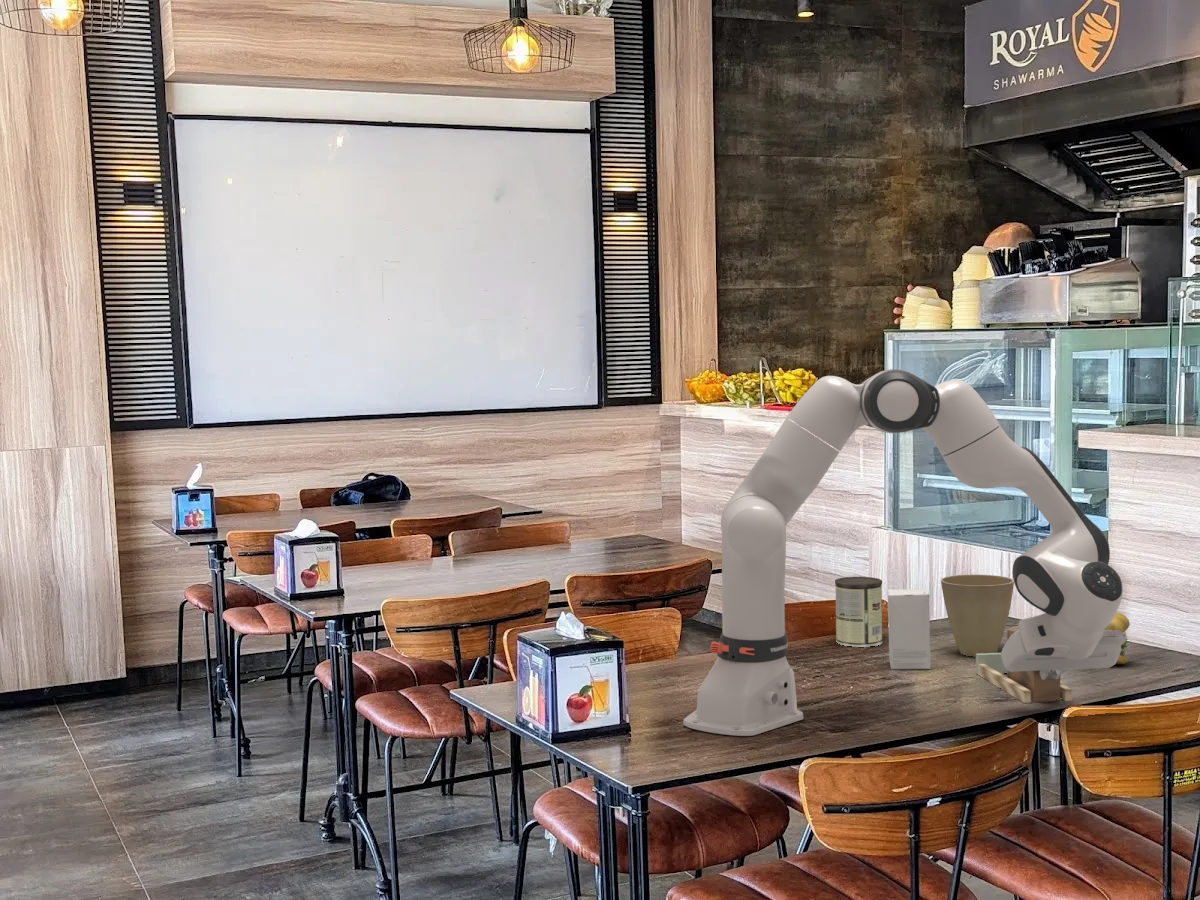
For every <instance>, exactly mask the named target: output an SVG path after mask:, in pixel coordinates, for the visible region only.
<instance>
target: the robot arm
mask: <svg viewBox="0 0 1200 900" xmlns="http://www.w3.org/2000/svg"><path fill="white" fill-rule="evenodd" d="M863 426H866V427H869V428H873V429H875V430H877V431H879V432H882V433H885V434H900V433H906V432H909V431H910V432H911V431H914V430H918V429H919V430H920V429H921V430H923V431H924V432H925V433H927V435H928V436H929V437H930V438H931V439H932V441H933V443H934V444H935V446H936V448H937V450H938V451H939V453H940V455H941V457H942V458H943V460H944V462H945V464H946V465H947V467H948V469H949V471H950V472H951V473H952V475H953V476H954V477H955V478H956V479H957V480H958V481H959V482H960V483H962V484H964V485H966V486H969V487H972V488H976V489H984V490H985V489H986V490H987V489H995V488H1002V487H1012V488H1016V489H1019V490H1021V491H1022V492H1023V493H1024V494H1025V495H1026V496H1027V497H1028V498H1029V499H1030V500H1031V502H1032V503H1033V505H1034V506H1035V507H1036V508H1037V510H1038V511H1039V512H1040V513H1041V515H1042V516H1043V517H1044V519H1045V520H1046V521H1047V523H1049V526H1050V528H1051V534H1050V535H1048V536H1047V537H1045V538H1044V539H1042V540H1041V541H1040V542H1038V543H1036V544H1035V545H1033V546H1031V547H1030V548H1028V549H1027V550H1026V551H1025V552H1024V553H1022V554H1020V555H1019V556H1018V557H1016V558H1015V560H1014V561H1013V564H1012V579H1013V580H1014V586H1015V588H1016V591H1017V592H1018V593H1019V595H1020V596H1021V597H1022V598H1023V599H1024V600H1025V601H1026V602H1028V604H1030V605H1032V606H1033V607H1034V608H1035V609H1038V610H1040V611H1042V612H1043V613H1042V614H1039V615H1036V616H1035V615H1034V616H1031V617H1027V618H1022V619H1020V620H1019V622H1018V623H1017V626H1018V627H1017V629H1019V630H1018V631H1016V632H1014V633H1013V634H1012V635H1011V636H1010V637H1009V639H1008V640H1007V639H1006V641H1005V643H1004V646H1003V647H1002V650H1001V652H1000V653H1001V657H1002V661H1003V664H1004V667H1005V668H1006V669H1007V670H1008V671H1009V672H1014V671H1039V670H1040V676H1041V679H1042V680H1047V679H1058V678H1059V676H1060V677H1061V676H1062V675H1063V674H1066V673H1067V672H1069V671H1070V670H1084V669H1085V670H1086V669H1087V670H1088V669H1089V670H1090V669H1109V668H1111V667H1113V666H1114V665H1117V664H1116V662H1117V660H1118V657H1119V655H1120V652H1121V651H1122V649H1121V645H1122V644H1124V642H1125V641H1126V639H1127V640H1128V637H1127V633H1126V632H1125V633H1126V634H1125V633H1124V632H1121V631H1120V630H1113V631H1112V630H1105V628H1106V627H1107V626H1108V625H1109V624H1110V623H1111V621H1112V619H1113V618H1114V616H1115V614H1116V612H1117V611H1118V609H1119V607H1120V605H1121V602H1122V598H1123V595H1124V594H1123V592H1124V591H1123V590H1124V587H1123V582H1122V579H1121V576H1120V575H1119V573H1118V572H1117V570H1115V569H1114V568H1113V567H1112V566H1110V565H1109V562H1110V559H1111V558H1110V555H1111V553H1110V551H1111V550H1110V543H1109V541H1108V539H1107V537H1106V535H1105V533H1104V532H1103V531H1102V529H1100V528H1099V526H1097V525H1096V524H1095V523H1094V522H1093V521H1092V520H1091V519H1090V518H1089V517H1088V516H1087V515H1086V514H1085V513H1084V512H1083V511H1082V509H1081V508H1080V507H1079V506H1078V504H1076V502H1075V501H1074V499H1073V498H1072V497H1071V496H1070V495H1069V493H1068V492H1067V491H1066V490H1065V487H1064V486H1063V485H1062V484H1061V483H1060V481H1058V479H1057V478H1056V477H1055V476H1054V474H1053V473H1052V471H1051V470H1050V469H1049V468H1048V467H1047V466H1046V464H1045V463H1044V462H1043V461H1042V460H1041V458H1040V457H1039V456H1038V455H1037V454H1036V453H1035V452H1034V451H1032V450H1031V449H1029V448H1028V447H1025V446H1019V445H1018V444H1017V443H1016V442H1015V441H1013V440H1012V439H1011V438H1010V437H1009V435H1007V434H1006V432H1005V431H1004V429H1003V427H1002V426H1001V425H1000V423H999V421H998V419H997V417H996V416H995V415H994V412H993V411H992V410H991V408H990V407H989V406H988V404H987V403H986V402H985V400H983V398H982V397H981V396H980V394H979V393H978V392H977V390H975V389H974V387H973V386H972V385H971V384H970V383H968V382H967V381H964V380H961V379H950V380H945V381H943V382H940V383H939V384H936V385H932V384H931V383H929V382H927V381H925V380H923V379H922V378H920V377H919V376H917V375H915V374H913V373H911V372H909V371H906V370H901V369H895V368H892V369H891V368H890V369H889V368H888V369H886V370H881V371H878V372H877V373H875V374H874V375H872V376H869V377H868V378H867V379H864V380H863V381H861V382H859V383H856V384H855V383H852V382H850V381H849V380H848V379H846V378H843V377H840V376H836V375H826V376H822V377H820V378H819V379H818V380H816V382H814V383H813V385H812V386H811V387H809V388H808V390H807V391H806V392H804V394H803V395H802V396H801V397H800V399H799V400H798V401H797V402H796V404H795V405H794V406H793V407H792V409H791V411H789V413H788V415H787V416H786V418H785V419H784V421H783V422H782V424H781V425H780V427H779V429H778V430H777V431H776V433H775V435H774V436H773V438H772V440H771V441H770V442H769V444H768V445H767V447H766V448H765V450H764V452H763V453H762V454H761V456H760V457H759V459H758V460H757V461H756V462H755V464H754V465H753V467H751V469H750V470H749V472H748V473H747V475H746V476H745V478H744V479H743V480H742V482H741V483H740V484H739V486H738V488H737V489H736V490H735V491H734V493H733V494H732V496H731V497H730V499H729V500H728V502H727V503H726V504H725V506H724V508H723V510H722V512H721V515H720V516H721V518H720V530H721V593H722V594H721V604H722V606H721V607H722V608H721V611H722V612H721V613H722V614H721V618H722V625H721V626H722V632H721V634H720V636H719V640H718V642H717V641H711V642H710V645H709V646H710V647H709V649H710V651H711V653H712V654H716V656H717V658H716V661H715V662H714V664H713V666H712V667H711V669H710V670H709V672H708V674H706V677H705V679H704V680H703V682H702V684H701V685H700V686H699V688H698V691H697V697H696V709H695V710H694V711H693V712H691V713H690V714H688V715H687V716H685V718H683V723H682V725H683V726H685V727H686V728H689V729H693V730H696V731H700V732H706V733H710V734H711V733H712V734H719V735H727V736H735V737H736V736H738V737H739V736H740V737H751V736H752V737H753V736H757V735H759V734H761V733H766V732H768V731H771V730H775V729H778V728H781V727H784V726H786V725H790V724H792V723H795V722H799V721H802V720H804V713H803V711H801V710H800V709H798V703H797V692H796V691H797V690H796V680H795V672H794V670H793V668H792V667H791V665H790V664H789V661H788V659H787V655H788V653H789V652H788V651H789V650H788V647H789V641H788V635H787V633H786V627H785V626H786V624H785V623H786V621H785V620H786V619H785V618H786V617H785V616H786V615H785V613H786V612H785V588H786V585H785V584H786V559H787V558H786V557H787V555H786V554H787V553H786V551H787V550H786V548H787V547H786V546H787V525H788V524H789V522H790V521H791V519H793V517H794V515H795V514H796V513H797V512H798V510H799V509H800V508H801V507H802V505H803V504H804V503H805V501H807V499H808V498H809V496H811V494H812V493H813V492H814V491H815V490H816V488H817V487H818V485H819V484H820V482H822V479H823V478H824V476H825V475H826V473H827V472H828V470H830V468H831V466H832V464H833V463H834V461H835V460H836V458H837V456H839V454H840V452H841V451H842V450H843V448H844V446H845V444H846V443H847V441H848V440H849V439H850V437H851V436H852V435H853V434H854V433H855V432H856V431H857V430H858V429H859V428H861V427H863Z"/></svg>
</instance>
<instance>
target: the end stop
mask: <svg viewBox="0 0 1200 900" xmlns="http://www.w3.org/2000/svg"><path fill="white" fill-rule="evenodd" d="M978 664H985V665H987V666H989V667H990V668H992V669H994V670H996V671H997V672H999V673H1001V674H1002V673H1003V675H1005V674H1004V673H1007V669H1006V668H1005V667H1004V664H1003V661H1002V657H1001V652H997V653H981V654H976V657H975V674H976V675H977V674H978Z"/></svg>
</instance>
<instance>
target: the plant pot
mask: <svg viewBox="0 0 1200 900" xmlns="http://www.w3.org/2000/svg"><path fill="white" fill-rule="evenodd" d="M940 585H941V590H942V597H943V602H944V606H945V610H946V615H947V618H948V622H949V626H950V628H951V631H952V635H953V638H954V641H955V643H956V646H957V648H958V651H959V653H960V655H962V654H963V655H962V656H964V655H966V656H965V657H968V656H973V657H972V658H976V654H981V653H998V652H999V648H1000V646H1001V643H1002V640H1003V637H1004V634H1005V630H1006V627H1007V622H1008V619H1009V615H1010V611H1011V610H1010V609H1011V606H1012V598H1013V593H1014V586H1015V583H1014V580H1013V578H1010V577H1008V576H1003V575H993V574H955V575H949V576H944V577H942V578H941V579H940Z"/></svg>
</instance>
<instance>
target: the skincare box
mask: <svg viewBox="0 0 1200 900" xmlns="http://www.w3.org/2000/svg"><path fill="white" fill-rule="evenodd" d="M930 595H931V594H930V593H929V592H928V590H927V588H912V589H911V588H907V589H906V588H905V589H904V588H900V589H897V588H896V589H894V588H890V589H889V588H888V589H887V614H888V615H887V616H888V617H887V618H888V620H887V621H888V625H887V626H888V654H889V655H888V658H889V660H888V661H889V666H890V669H891V670H931V669H932V660H931V659H932V658H931V657H932V656H931V623H930V622H931V621H930V618H931V617H930Z"/></svg>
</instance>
